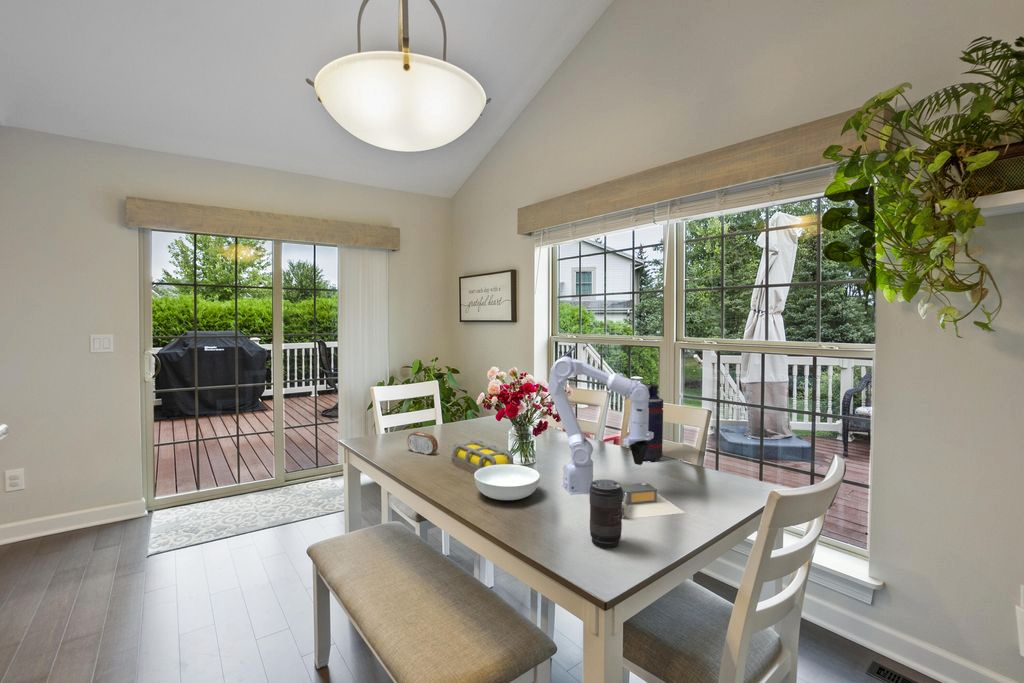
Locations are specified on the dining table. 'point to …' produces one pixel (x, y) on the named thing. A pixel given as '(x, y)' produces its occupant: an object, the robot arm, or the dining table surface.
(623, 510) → the door
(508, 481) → the serving bowl
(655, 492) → the grey and orange box
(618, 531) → the camera lens
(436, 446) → the tin
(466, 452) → the cage light
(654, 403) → the grenade
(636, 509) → the mat
